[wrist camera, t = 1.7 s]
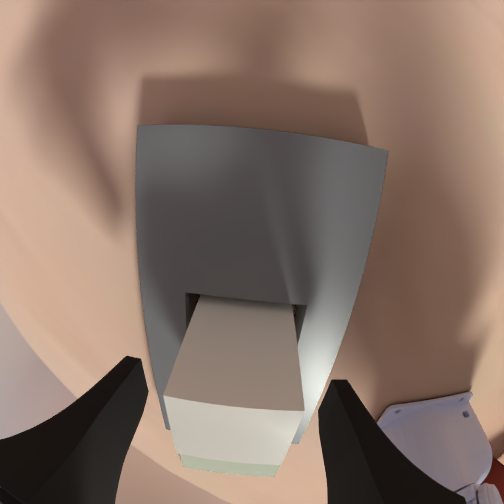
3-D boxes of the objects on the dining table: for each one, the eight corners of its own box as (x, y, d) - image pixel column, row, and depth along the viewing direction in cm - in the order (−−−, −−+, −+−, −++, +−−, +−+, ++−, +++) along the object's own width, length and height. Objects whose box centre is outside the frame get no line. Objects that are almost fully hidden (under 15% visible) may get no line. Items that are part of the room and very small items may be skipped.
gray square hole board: (369, 148, 11) (388, 151, 9) (297, 421, 18) (298, 443, 16) (157, 126, 11) (137, 125, 9) (172, 407, 18) (166, 429, 16)
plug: (289, 289, 13) (304, 410, 7) (277, 351, 15) (280, 465, 9) (206, 280, 13) (163, 395, 7) (205, 343, 15) (176, 453, 9)
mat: (292, 431, 18) (293, 437, 18) (274, 472, 22) (274, 477, 21) (174, 418, 18) (173, 424, 18) (184, 462, 22) (183, 467, 21)
